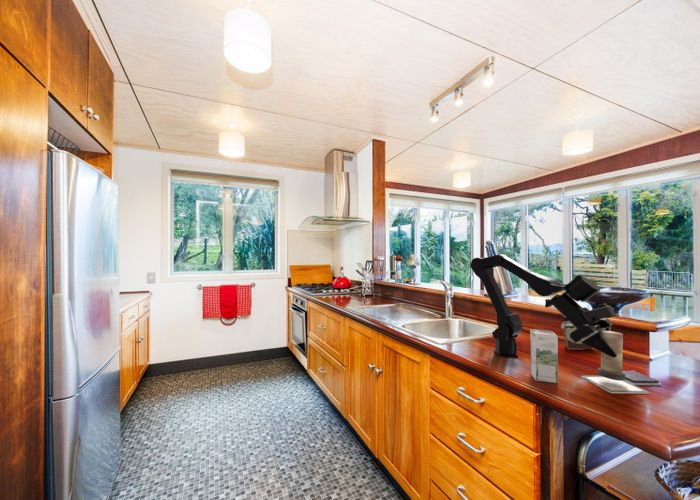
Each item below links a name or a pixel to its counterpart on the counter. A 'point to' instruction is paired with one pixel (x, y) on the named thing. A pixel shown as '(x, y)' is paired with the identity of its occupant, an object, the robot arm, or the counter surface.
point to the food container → (569, 342)
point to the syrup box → (544, 355)
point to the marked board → (614, 385)
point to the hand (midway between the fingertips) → (618, 355)
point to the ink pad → (640, 379)
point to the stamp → (611, 365)
